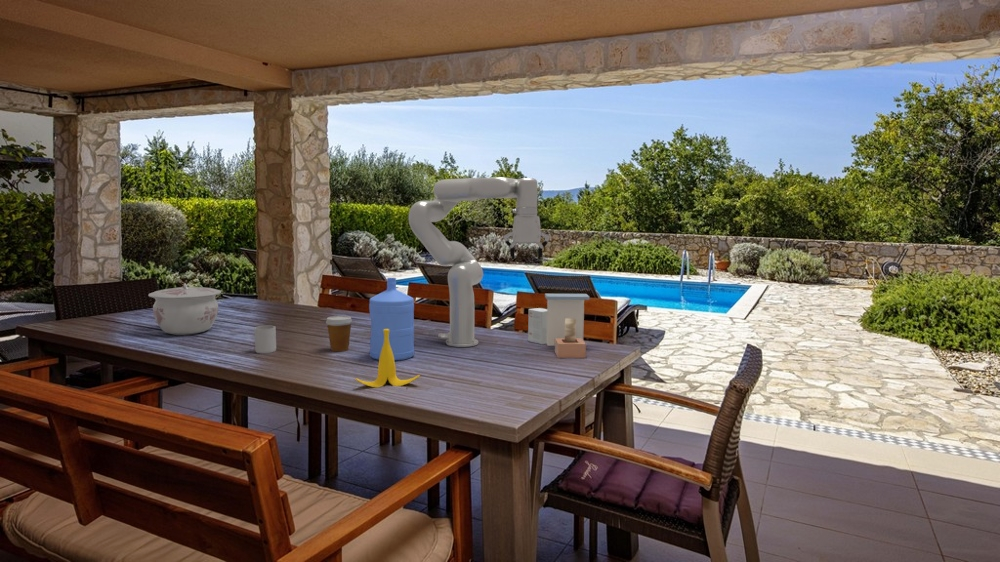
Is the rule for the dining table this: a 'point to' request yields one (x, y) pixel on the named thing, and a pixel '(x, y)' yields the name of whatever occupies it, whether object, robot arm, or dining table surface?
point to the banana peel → (386, 367)
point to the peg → (570, 330)
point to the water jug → (392, 322)
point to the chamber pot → (185, 309)
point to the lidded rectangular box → (564, 314)
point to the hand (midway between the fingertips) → (526, 258)
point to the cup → (265, 339)
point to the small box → (537, 325)
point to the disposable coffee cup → (339, 332)
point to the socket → (570, 348)
